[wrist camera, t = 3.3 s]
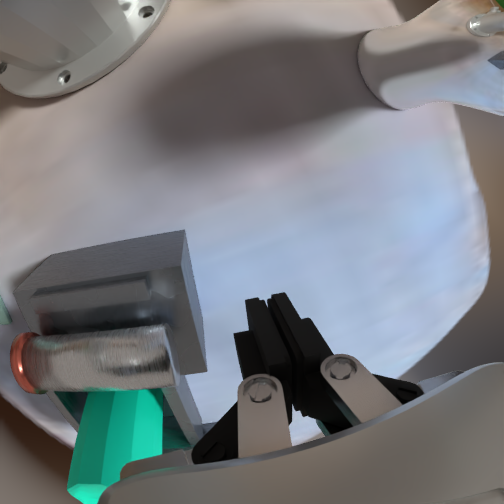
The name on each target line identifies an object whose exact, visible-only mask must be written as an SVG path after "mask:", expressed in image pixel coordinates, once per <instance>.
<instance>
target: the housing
mask: <svg viewBox="0 0 504 504" xmlns="http://www.w3.org/2000/svg"><path fill="white" fill-rule="evenodd" d="M13 294H14V296H15V298H16V301H17V303H18V305H19V308H20V310H21V312H22V314H23V316H24V319H25V321H26V323H27V325H28V327H29V329H30V331H31V332H34V333H37V334H39V335H40V336H49V335H64V334H76V333H88V332H98V331H108V330H117V329H126V328H135V327H143V326H151V325H158V324H166V323H167V324H168V325H169V327H170V329H171V331H172V334H173V337H174V340H175V344H176V349H177V354H178V360H179V367H180V383H179V386H176V387H166V388H161V389H162V391H163V393H164V395H165V397H166V400H167V402H168V404H169V406H170V408H171V410H172V412H173V414H174V417H163V423H162V454H165V453H169V452H173V451H177V450H180V449H183V451H186V450H189V449H193V447H194V446H195V445H196V443H197V442H198V441H199V440H200V439H201V438H202V437H203V436H204V435H205V434H206V433H207V432H208V431H209V430H210V429H211V428H212V427H213V426H214V425H215V424H216V423H210V424H202V419H201V416H200V414H199V412H198V409H197V407H196V404H195V402H194V399H193V397H192V394H191V391H190V389H189V386H188V383H187V381H186V378H185V375H187V374H195V373H202V372H207V362H206V352H205V341H204V329H203V317H202V313H201V309H200V304H199V299H198V295H197V290H196V285H195V280H194V276H193V271H192V265H191V260H190V255H189V250H188V244H187V239H186V233H185V230H180V231H174V232H169V233H163V234H157V235H151V236H146V237H140V238H134V239H129V240H123V241H118V242H113V243H107V244H102V245H97V246H92V247H87V248H82V249H77V250H72V251H67V252H62V253H58V254H53V255H50V256H49V257H48V258H47V259H46V260H45V261H44V262H43V263H42V264H41V265H40V266H39V267H38V268H37V269H36V270H35V271H33V272H32V273H31V274H30V275H29V276H28V277H27V278H26V279H25V280H24V281H23V282H22V283H21V284H20V285H19V286H18V287H17V288H16V290H15V291H14V292H13ZM46 394H47V395H48V396H49V398H50V399H51V400H52V402H53V403H54V404H55V406H56V407H57V408H58V410H59V411H60V412H61V413H62V415H63V416H64V417H65V418H66V420H67V421H68V422H69V423H70V424H71V426H72V427H73V428H74V429H75V430H76V431H77V433H78V430H79V426H80V422H81V418H82V414H83V410H84V407H85V403H86V399H87V396H88V394H87V393H86V392H73V391H48V392H46Z"/></svg>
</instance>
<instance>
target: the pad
mask: <svg viewBox="0 0 504 504" xmlns="http://www.w3.org/2000/svg"><path fill="white" fill-rule="evenodd" d="M11 322H12V320H11V318H10V316H9V314H8V312H7V309H6V307H5V305H4V303H3V300H2V298H1V296H0V325H6V324H11Z"/></svg>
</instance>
